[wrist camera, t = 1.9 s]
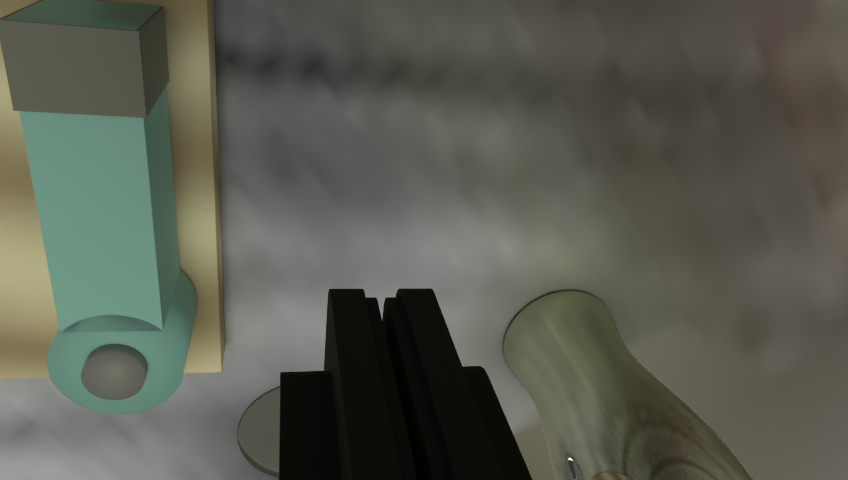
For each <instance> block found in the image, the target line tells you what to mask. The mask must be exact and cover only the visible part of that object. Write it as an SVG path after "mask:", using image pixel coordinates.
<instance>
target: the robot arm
mask: <svg viewBox="0 0 848 480" xmlns="http://www.w3.org/2000/svg"><path fill="white" fill-rule="evenodd" d="M279 480H532V478H531V476H530V473H529V471H528V468H527V466H526V464H525V461H524V459H523V457H522V454H521V452H520V450H519V447H518V445H517V443H516V440H515V438H514V436H513V433H512V431H511V429H510V426H509V424H508V422H507V419H506V417H505V415H504V412H503V410H502V408H501V405H500V403H499V401H498V398H497V396H496V394H495V391H494V389H493V386H492V384H491V382H490V379H489V377H488V375H487V373H486V371H485V370H484V368H482V367H481V366H469V367H462V365H461V362H460V359H459V357H458V354H457V351H456V349H455V346H454V344H453V341H452V338H451V336H450V333H449V330H448V328H447V325H446V323H445V320H444V317H443V315H442V312H441V309H440V307H439V304H438V301H437V299H436V296H435V294H434V291H433V290H432V289H398V291H397V294H396V298H386V299H385V302H384V309H383V319H381V314H380V310H379V306H378V301H377V298H365V293H364V290H363V289H329V293H328V306H327V324H326V342H325V360H324V371H309V372H281V373H280V436H279Z"/></svg>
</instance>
